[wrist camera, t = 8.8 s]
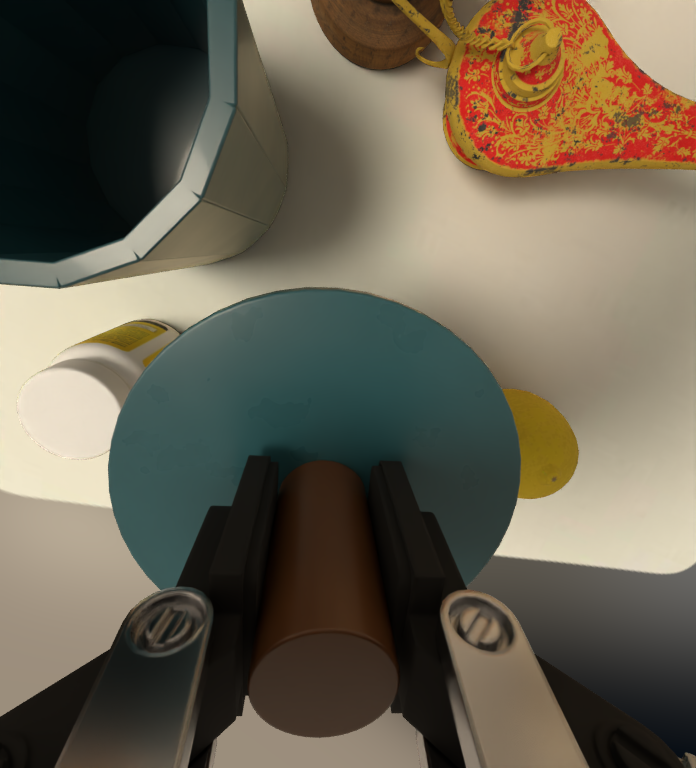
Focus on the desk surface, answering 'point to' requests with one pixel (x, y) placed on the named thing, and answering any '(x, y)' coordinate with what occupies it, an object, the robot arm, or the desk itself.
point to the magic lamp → (552, 93)
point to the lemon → (542, 444)
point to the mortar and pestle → (375, 29)
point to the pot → (132, 139)
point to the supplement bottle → (89, 389)
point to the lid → (315, 476)
